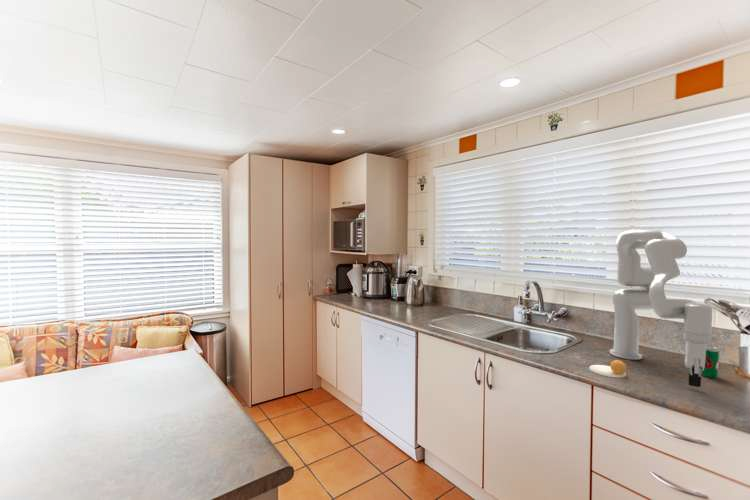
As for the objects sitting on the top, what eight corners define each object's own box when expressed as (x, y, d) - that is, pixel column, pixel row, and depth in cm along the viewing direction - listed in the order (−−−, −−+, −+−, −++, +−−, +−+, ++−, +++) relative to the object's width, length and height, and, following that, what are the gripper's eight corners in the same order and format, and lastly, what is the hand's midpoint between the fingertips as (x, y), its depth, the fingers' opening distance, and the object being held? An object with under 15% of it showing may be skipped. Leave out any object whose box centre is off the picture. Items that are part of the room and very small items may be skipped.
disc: (591, 362, 155) (591, 362, 155) (627, 370, 146) (627, 369, 146) (587, 372, 144) (587, 371, 144) (625, 380, 136) (625, 379, 136)
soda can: (719, 379, 137) (721, 350, 136) (702, 377, 140) (703, 347, 139) (715, 375, 141) (717, 346, 141) (699, 372, 144) (700, 344, 143)
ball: (628, 362, 143) (623, 374, 144) (612, 356, 146) (608, 368, 147) (629, 366, 139) (624, 378, 139) (613, 359, 142) (608, 371, 142)
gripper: (681, 330, 136) (679, 376, 137) (684, 340, 124) (682, 389, 125) (708, 334, 131) (705, 381, 132) (713, 344, 119) (711, 395, 120)
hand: (694, 385), depth 129 cm, fingers closed
